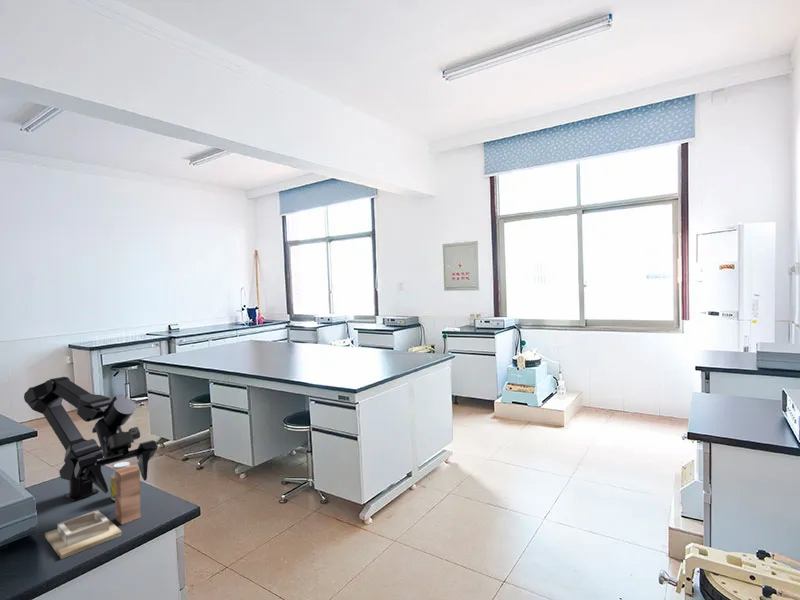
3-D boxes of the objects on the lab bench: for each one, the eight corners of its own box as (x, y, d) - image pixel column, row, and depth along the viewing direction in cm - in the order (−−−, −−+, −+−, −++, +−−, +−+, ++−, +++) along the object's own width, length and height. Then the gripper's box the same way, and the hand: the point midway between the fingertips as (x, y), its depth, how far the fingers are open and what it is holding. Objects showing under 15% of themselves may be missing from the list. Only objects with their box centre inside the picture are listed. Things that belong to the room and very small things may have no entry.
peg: (115, 519, 113) (114, 470, 113) (134, 512, 117) (133, 465, 116) (121, 524, 110) (120, 474, 110) (140, 517, 114) (139, 469, 114)
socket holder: (45, 537, 105) (44, 522, 105) (102, 516, 114) (102, 503, 114) (61, 559, 96) (61, 543, 96) (121, 535, 105) (121, 521, 105)
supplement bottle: (129, 499, 124) (129, 466, 123) (108, 502, 122) (107, 469, 122) (135, 491, 129) (134, 459, 129) (114, 493, 127) (114, 461, 127)
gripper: (76, 428, 110) (92, 482, 103) (154, 412, 124) (172, 458, 117) (68, 452, 115) (82, 505, 108) (144, 433, 129) (160, 479, 123)
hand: (126, 485), depth 114 cm, fingers open, 9 cm apart
